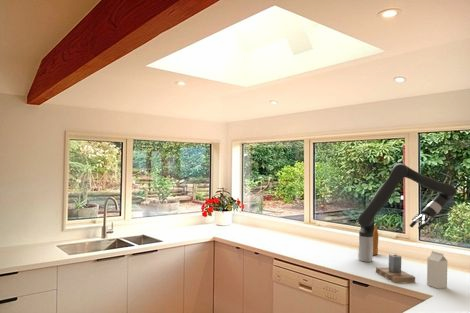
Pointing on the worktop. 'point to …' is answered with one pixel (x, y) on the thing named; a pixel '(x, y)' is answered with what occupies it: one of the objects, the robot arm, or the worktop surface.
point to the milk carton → (437, 270)
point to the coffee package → (375, 241)
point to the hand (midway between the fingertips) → (414, 227)
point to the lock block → (394, 263)
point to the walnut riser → (395, 275)
